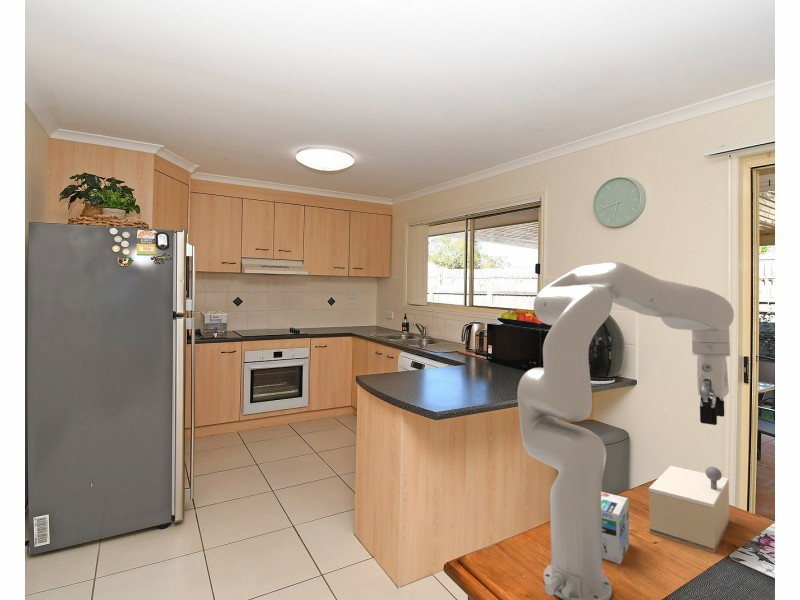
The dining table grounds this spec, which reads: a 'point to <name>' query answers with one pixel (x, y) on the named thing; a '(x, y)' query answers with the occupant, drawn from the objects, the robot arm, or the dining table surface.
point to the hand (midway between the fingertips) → (712, 419)
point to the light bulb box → (614, 527)
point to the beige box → (689, 520)
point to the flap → (691, 485)
